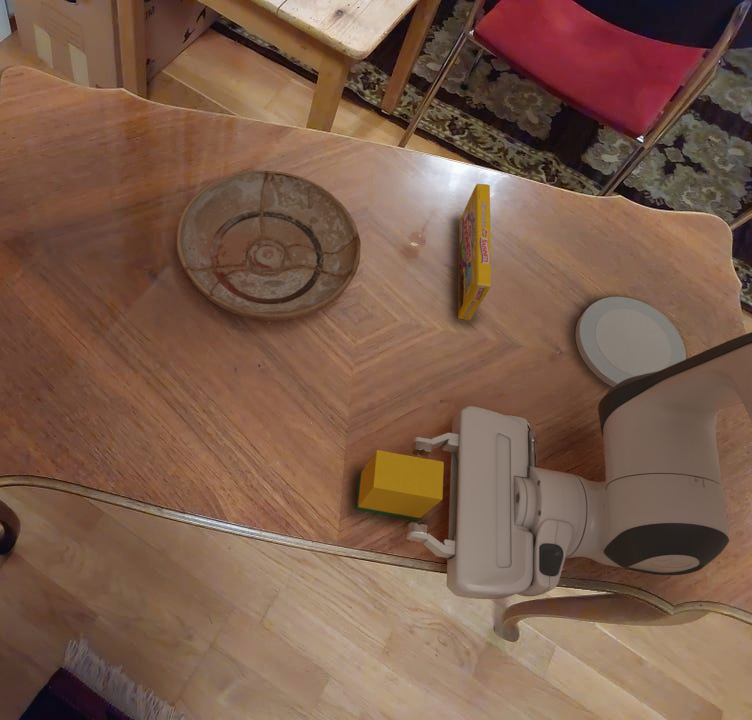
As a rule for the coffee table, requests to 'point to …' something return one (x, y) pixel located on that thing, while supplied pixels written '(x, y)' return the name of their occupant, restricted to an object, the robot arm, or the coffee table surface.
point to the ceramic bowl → (268, 245)
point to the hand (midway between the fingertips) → (410, 486)
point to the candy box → (474, 252)
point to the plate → (626, 339)
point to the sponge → (400, 485)
